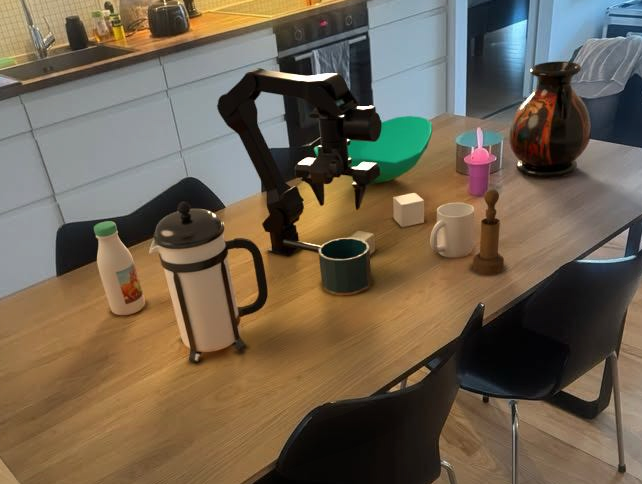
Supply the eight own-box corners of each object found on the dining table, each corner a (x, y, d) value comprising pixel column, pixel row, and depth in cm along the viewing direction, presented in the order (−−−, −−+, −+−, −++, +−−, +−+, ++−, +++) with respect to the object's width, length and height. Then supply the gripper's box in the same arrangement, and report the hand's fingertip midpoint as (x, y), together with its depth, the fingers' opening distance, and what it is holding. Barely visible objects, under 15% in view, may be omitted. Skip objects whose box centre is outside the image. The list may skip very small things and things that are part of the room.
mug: (443, 267, 153) (444, 225, 148) (418, 257, 159) (417, 215, 153) (480, 250, 159) (482, 208, 153) (454, 240, 164) (454, 199, 159)
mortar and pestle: (506, 263, 152) (511, 185, 142) (499, 276, 148) (504, 197, 137) (476, 259, 155) (479, 183, 145) (469, 273, 150) (472, 195, 140)
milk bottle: (116, 320, 150) (89, 236, 138) (108, 305, 155) (82, 224, 144) (149, 309, 152) (126, 225, 141) (140, 295, 158) (117, 214, 146)
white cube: (424, 222, 175) (423, 200, 171) (402, 227, 174) (401, 205, 170) (415, 214, 180) (414, 192, 176) (393, 218, 179) (393, 196, 175)
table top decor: (389, 152, 222) (388, 110, 215) (455, 168, 204) (456, 123, 197) (296, 190, 203) (291, 145, 196) (360, 211, 185) (356, 163, 177)
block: (349, 255, 164) (348, 238, 161) (359, 247, 167) (358, 230, 164) (365, 258, 161) (364, 241, 159) (375, 250, 164) (374, 233, 162)
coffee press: (224, 373, 128) (192, 225, 111) (161, 354, 136) (122, 213, 119) (275, 328, 140) (253, 187, 122) (215, 313, 147) (187, 178, 130)
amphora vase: (496, 163, 204) (502, 63, 188) (566, 153, 205) (578, 53, 189) (522, 188, 186) (531, 80, 170) (599, 177, 187) (614, 69, 171)
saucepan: (354, 299, 146) (351, 264, 141) (274, 279, 158) (269, 245, 153) (380, 277, 153) (379, 243, 148) (302, 259, 164) (298, 226, 160)
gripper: (277, 147, 145) (286, 216, 154) (355, 153, 136) (360, 226, 145) (303, 131, 152) (311, 198, 161) (379, 136, 144) (382, 206, 153)
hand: (339, 207), depth 155 cm, fingers open, 9 cm apart
